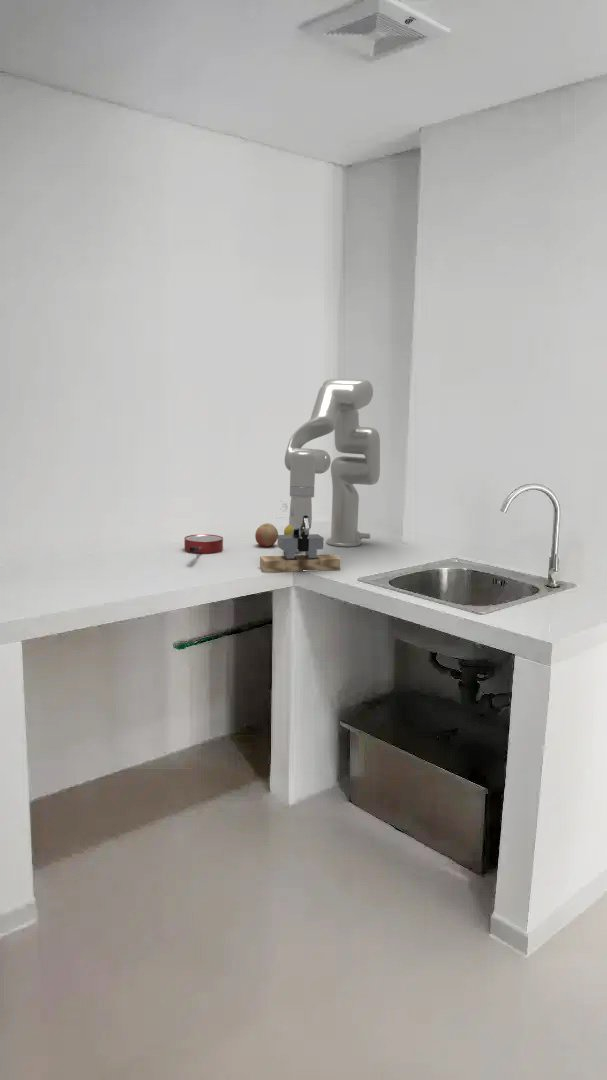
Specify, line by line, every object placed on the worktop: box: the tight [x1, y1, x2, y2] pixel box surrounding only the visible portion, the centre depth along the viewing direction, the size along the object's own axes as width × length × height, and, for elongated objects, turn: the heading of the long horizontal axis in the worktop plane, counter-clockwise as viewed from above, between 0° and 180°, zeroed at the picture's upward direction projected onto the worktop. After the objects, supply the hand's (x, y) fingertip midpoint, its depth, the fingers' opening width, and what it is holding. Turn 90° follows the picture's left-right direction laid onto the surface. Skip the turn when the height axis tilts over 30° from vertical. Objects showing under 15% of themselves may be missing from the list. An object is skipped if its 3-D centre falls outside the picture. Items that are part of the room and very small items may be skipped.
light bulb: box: [283, 524, 303, 553], centre depth 271 cm, size 7×7×10 cm
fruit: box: [254, 522, 279, 548], centre depth 279 cm, size 8×8×8 cm
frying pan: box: [183, 533, 224, 555], centre depth 261 cm, size 32×13×6 cm, turn 4°
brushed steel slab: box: [276, 533, 325, 559], centre depth 246 cm, size 13×6×6 cm, turn 105°
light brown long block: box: [259, 553, 341, 573], centre depth 247 cm, size 24×7×4 cm, turn 105°
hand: (300, 548), depth 246 cm, fingers closed on brushed steel slab, 6 cm apart
